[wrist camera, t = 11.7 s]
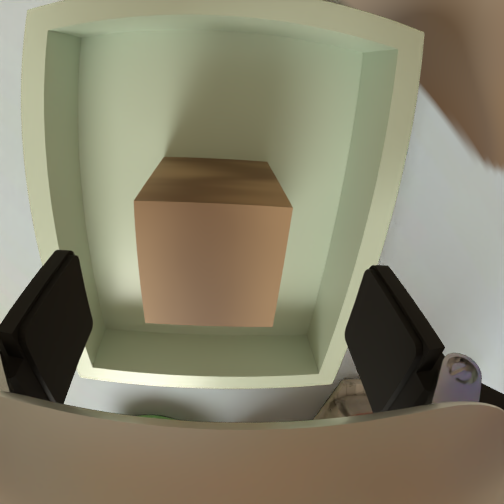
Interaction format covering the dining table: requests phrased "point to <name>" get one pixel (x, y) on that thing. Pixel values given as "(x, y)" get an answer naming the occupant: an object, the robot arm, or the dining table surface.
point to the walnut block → (211, 242)
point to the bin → (220, 147)
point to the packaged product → (346, 401)
